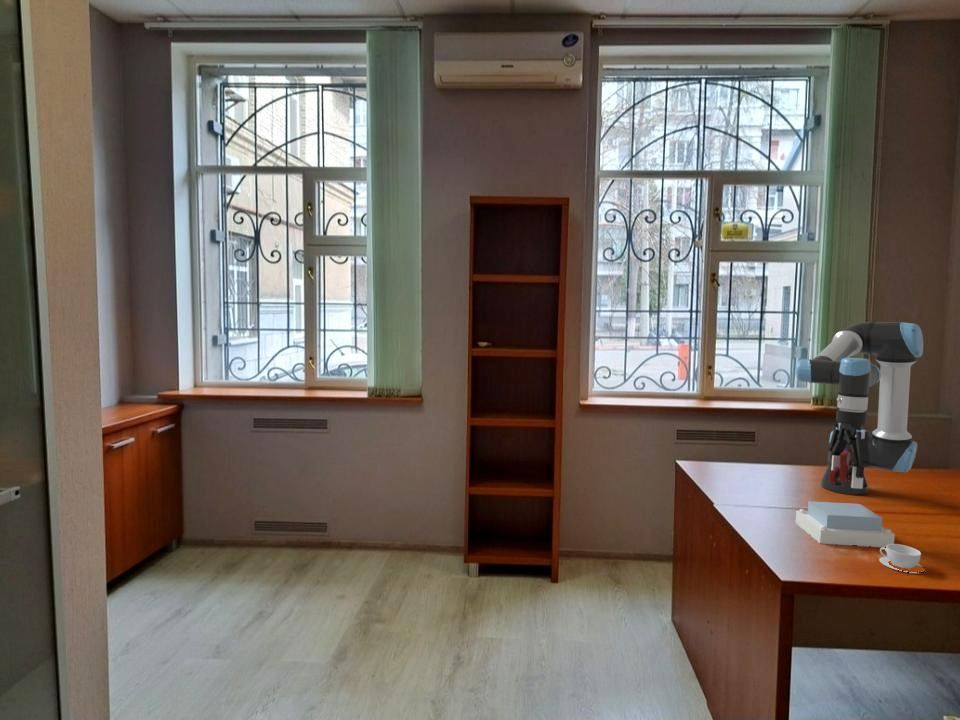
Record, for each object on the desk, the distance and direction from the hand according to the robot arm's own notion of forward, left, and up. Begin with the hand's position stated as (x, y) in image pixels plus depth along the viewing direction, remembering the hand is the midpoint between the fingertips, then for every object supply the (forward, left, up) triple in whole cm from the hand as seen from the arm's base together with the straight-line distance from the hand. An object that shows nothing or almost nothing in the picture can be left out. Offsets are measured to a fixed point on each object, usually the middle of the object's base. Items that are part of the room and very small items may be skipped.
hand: (846, 482), depth 169 cm
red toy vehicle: (0, 0, -1) cm, 1 cm away
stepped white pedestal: (0, 0, -16) cm, 16 cm away
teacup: (-5, +20, -17) cm, 27 cm away
